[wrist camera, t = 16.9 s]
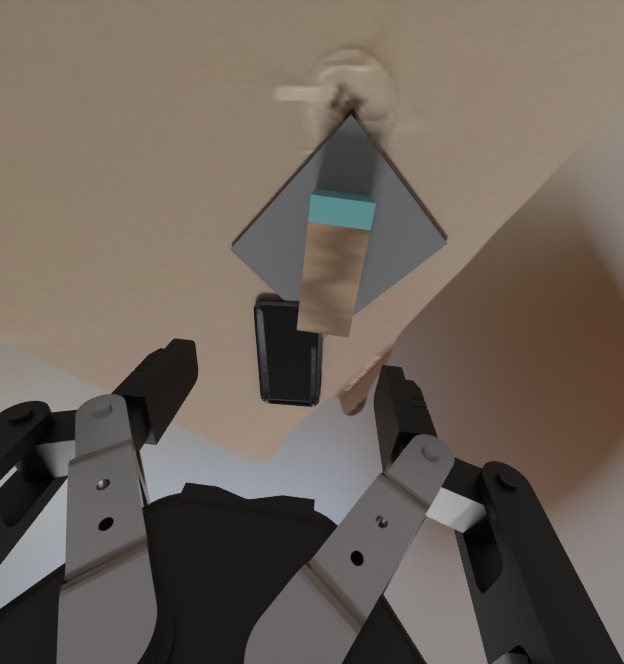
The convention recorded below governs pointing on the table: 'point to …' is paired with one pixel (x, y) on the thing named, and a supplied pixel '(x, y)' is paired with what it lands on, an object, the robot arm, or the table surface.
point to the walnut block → (333, 260)
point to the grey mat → (348, 177)
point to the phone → (286, 355)
